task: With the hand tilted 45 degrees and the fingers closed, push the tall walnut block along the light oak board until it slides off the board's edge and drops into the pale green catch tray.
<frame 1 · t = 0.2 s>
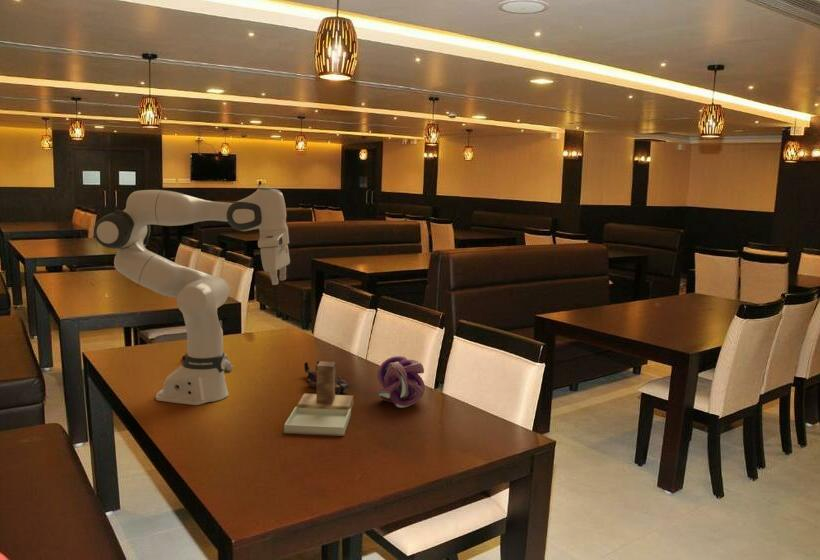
hand: (279, 282, 199), 39 cm above the table, tool pointing down, fingers open, 8 cm apart
oak board: (326, 408, 197), on the table
walnut block: (325, 400, 195), point 3 cm above the table, touching oak board
catch tray: (318, 424, 184), on the table
figurine: (324, 388, 218), on the table
male figure: (213, 366, 240), on the table
sculpture: (400, 402, 206), on the table
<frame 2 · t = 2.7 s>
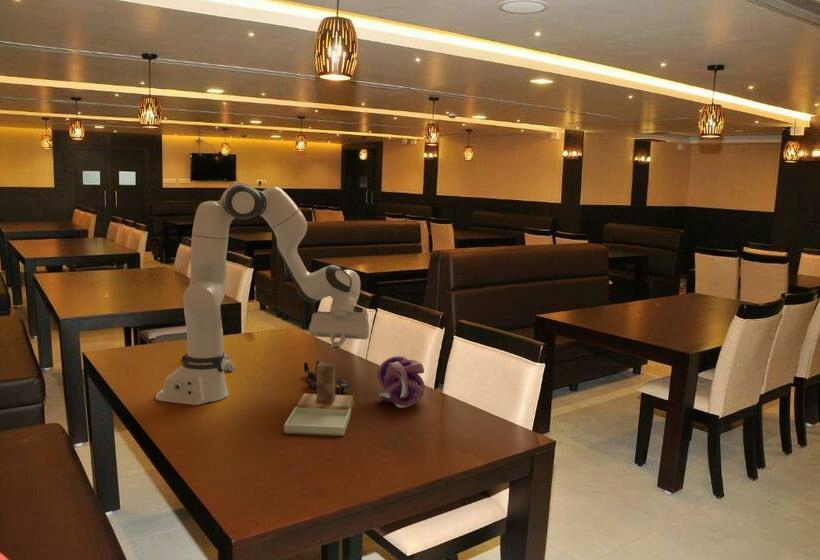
hand: (335, 347, 205), 17 cm above the table, tool tilted 45°, fingers closed
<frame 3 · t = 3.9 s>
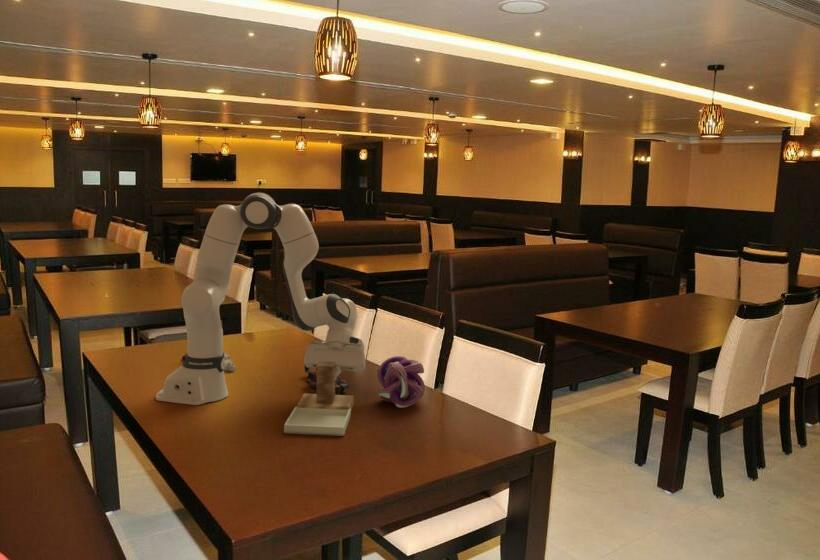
hand: (330, 380, 201), 8 cm above the table, tool tilted 45°, fingers closed
nothing on the table moved.
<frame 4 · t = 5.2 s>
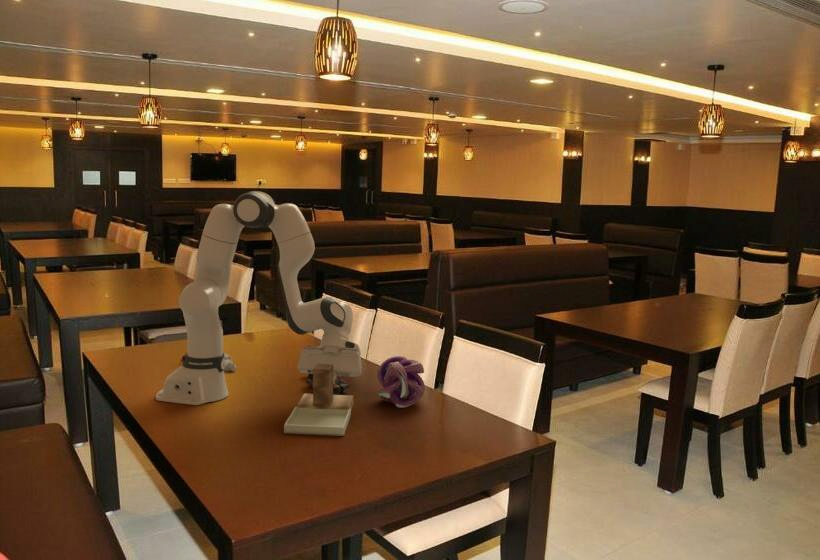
hand: (325, 385, 195), 8 cm above the table, tool tilted 45°, fingers closed
walnut block: (322, 403, 193), point 3 cm above the table
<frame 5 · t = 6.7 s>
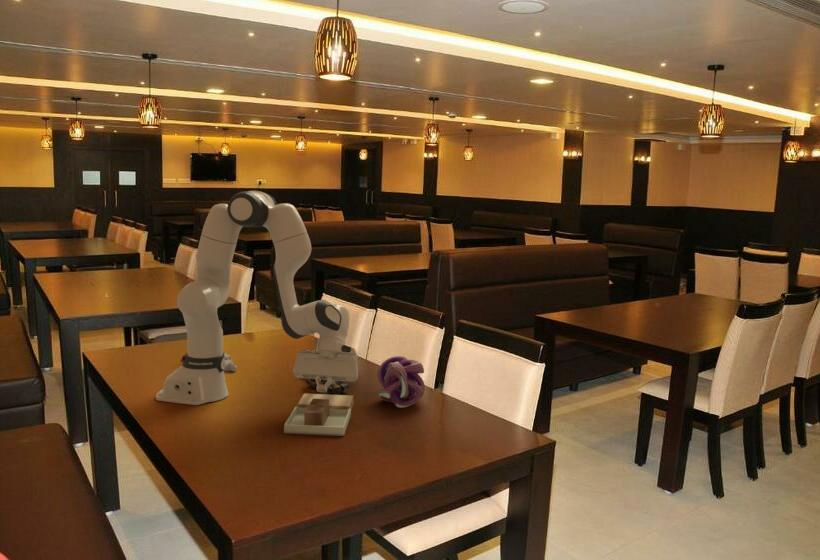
hand: (321, 391, 190), 8 cm above the table, tool tilted 45°, fingers closed
walnut block: (321, 406, 190), point 3 cm above the table, tilted 90°, touching catch tray
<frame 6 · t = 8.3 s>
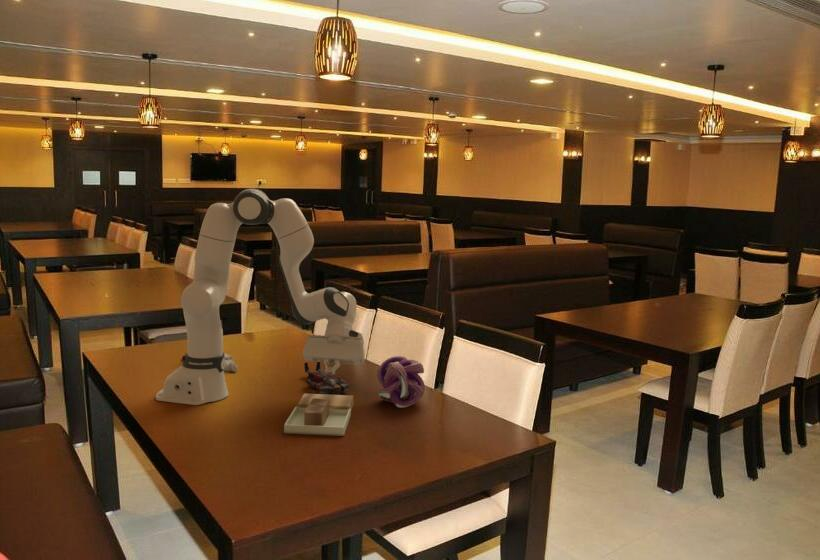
hand: (329, 373, 200), 10 cm above the table, tool tilted 45°, fingers closed
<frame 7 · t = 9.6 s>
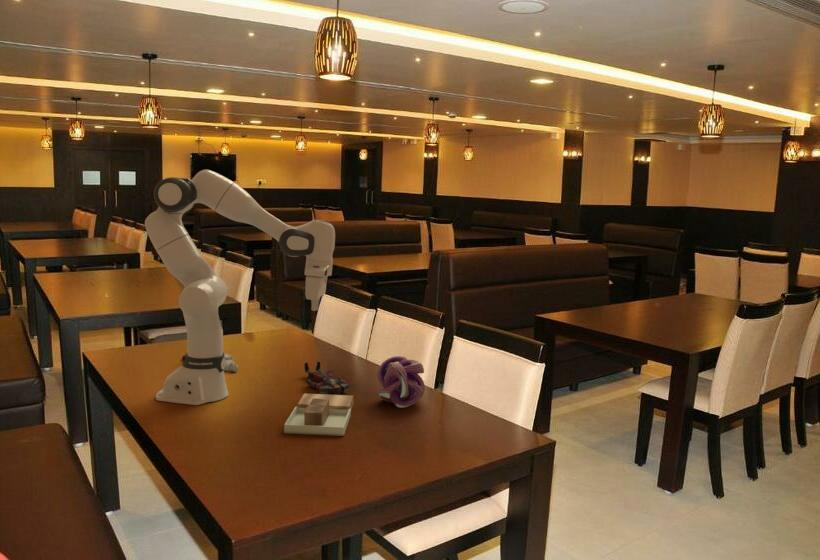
hand: (314, 310, 208), 29 cm above the table, tool pointing down, fingers closed
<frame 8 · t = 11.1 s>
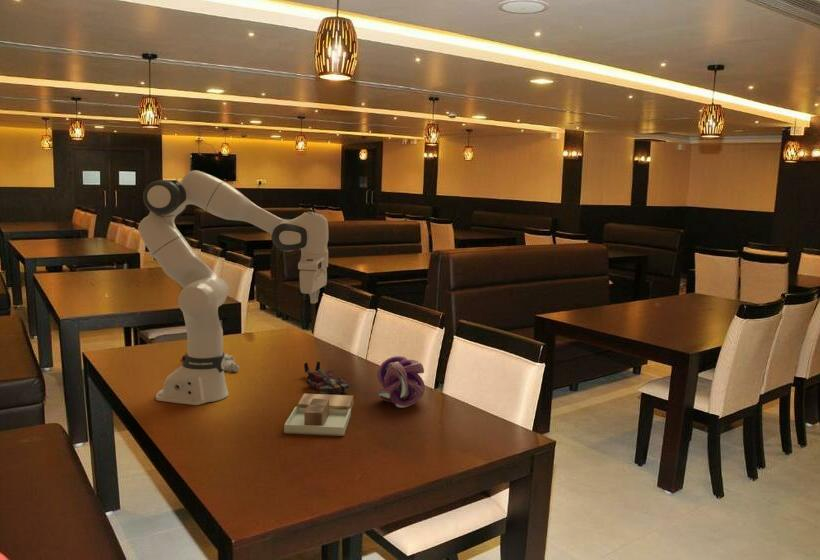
hand: (314, 302, 207), 31 cm above the table, tool pointing down, fingers closed
at the end: walnut block inside the target area (7.9 cm from its centre), point 3.0 cm above the table; walnut block touching catch tray; walnut block moved 5.4 cm from its start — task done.
